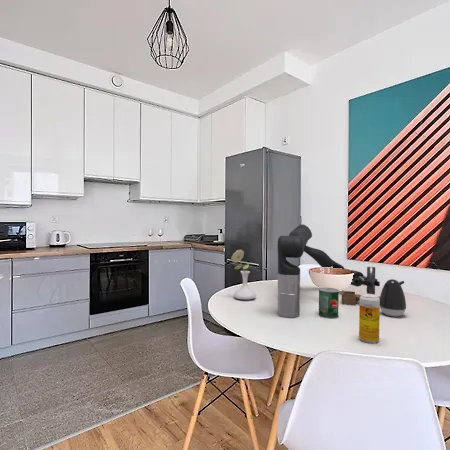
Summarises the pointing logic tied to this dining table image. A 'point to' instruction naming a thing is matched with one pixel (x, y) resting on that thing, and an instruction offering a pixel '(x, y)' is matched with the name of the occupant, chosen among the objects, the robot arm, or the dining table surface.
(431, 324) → the dining table surface
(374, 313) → the beer can
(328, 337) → the dining table surface
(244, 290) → the flower in vase
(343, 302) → the socket
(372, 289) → the copper and grey mallet
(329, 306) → the canned tomato
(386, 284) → the pump dispenser
